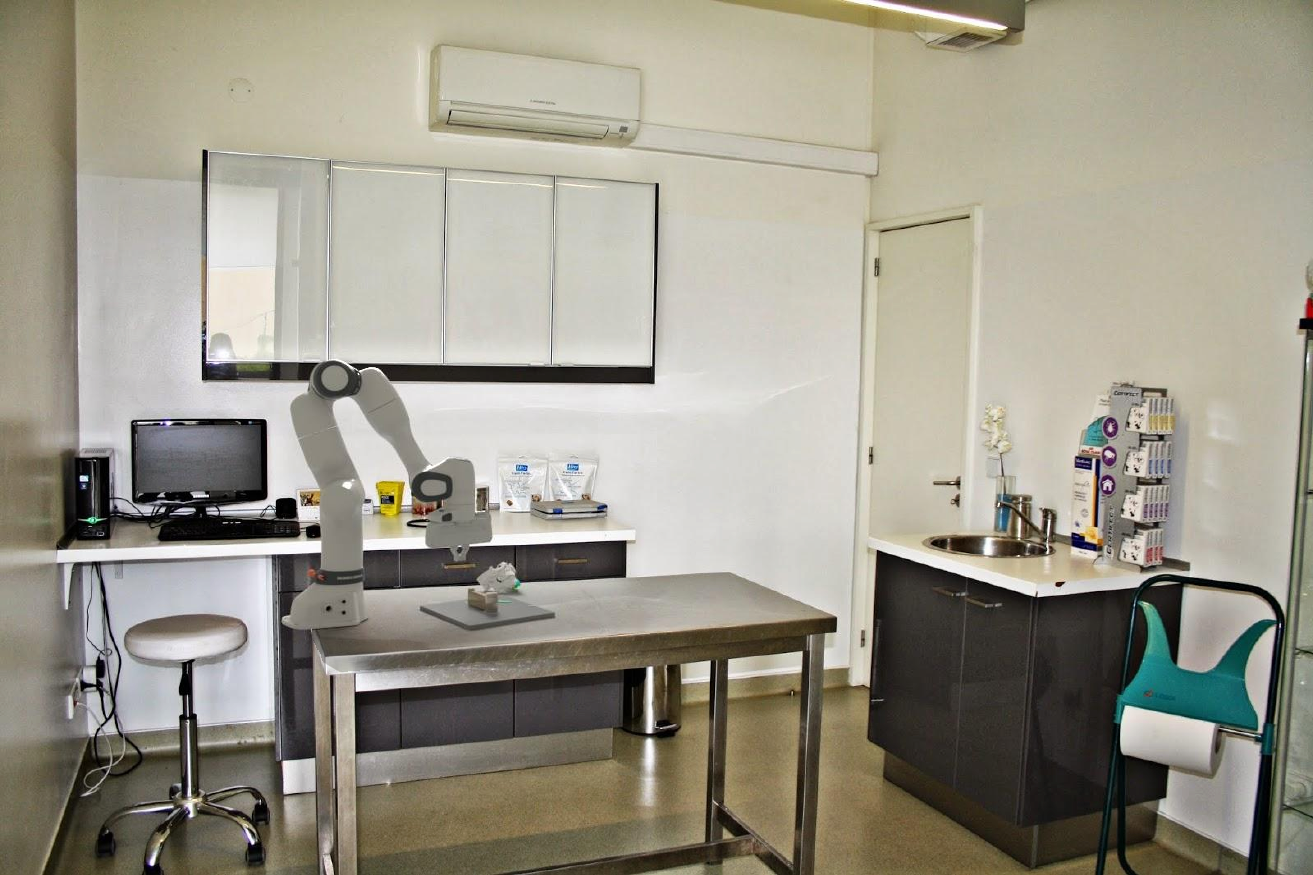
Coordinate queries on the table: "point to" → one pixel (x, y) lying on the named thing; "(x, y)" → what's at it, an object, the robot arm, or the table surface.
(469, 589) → the brown rectangular block
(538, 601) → the table surface
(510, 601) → the board
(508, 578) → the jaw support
